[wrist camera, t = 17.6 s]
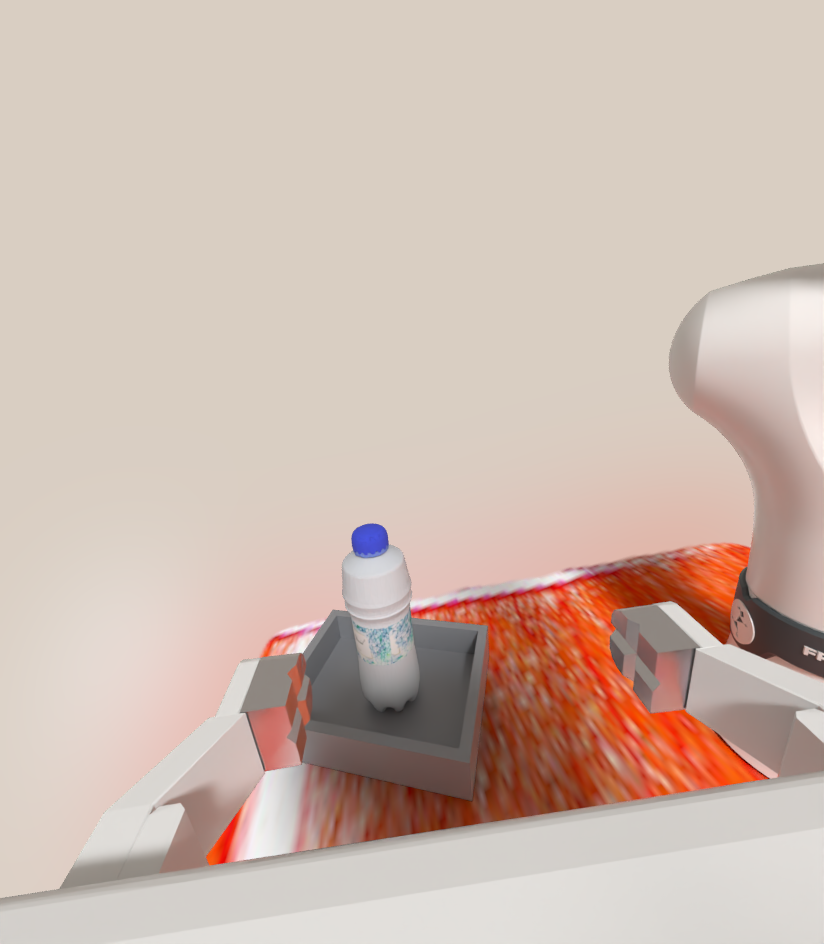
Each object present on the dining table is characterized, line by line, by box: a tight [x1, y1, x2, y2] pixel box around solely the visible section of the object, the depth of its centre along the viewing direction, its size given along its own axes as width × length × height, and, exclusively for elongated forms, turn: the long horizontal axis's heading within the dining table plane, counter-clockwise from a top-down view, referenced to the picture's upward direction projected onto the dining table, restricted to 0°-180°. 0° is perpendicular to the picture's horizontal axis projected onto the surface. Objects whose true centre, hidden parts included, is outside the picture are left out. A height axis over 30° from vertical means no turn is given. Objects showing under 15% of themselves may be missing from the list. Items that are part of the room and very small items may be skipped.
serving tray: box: [302, 610, 489, 801], centre depth 42 cm, size 20×16×4 cm
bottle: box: [342, 524, 420, 712], centre depth 40 cm, size 7×7×20 cm
